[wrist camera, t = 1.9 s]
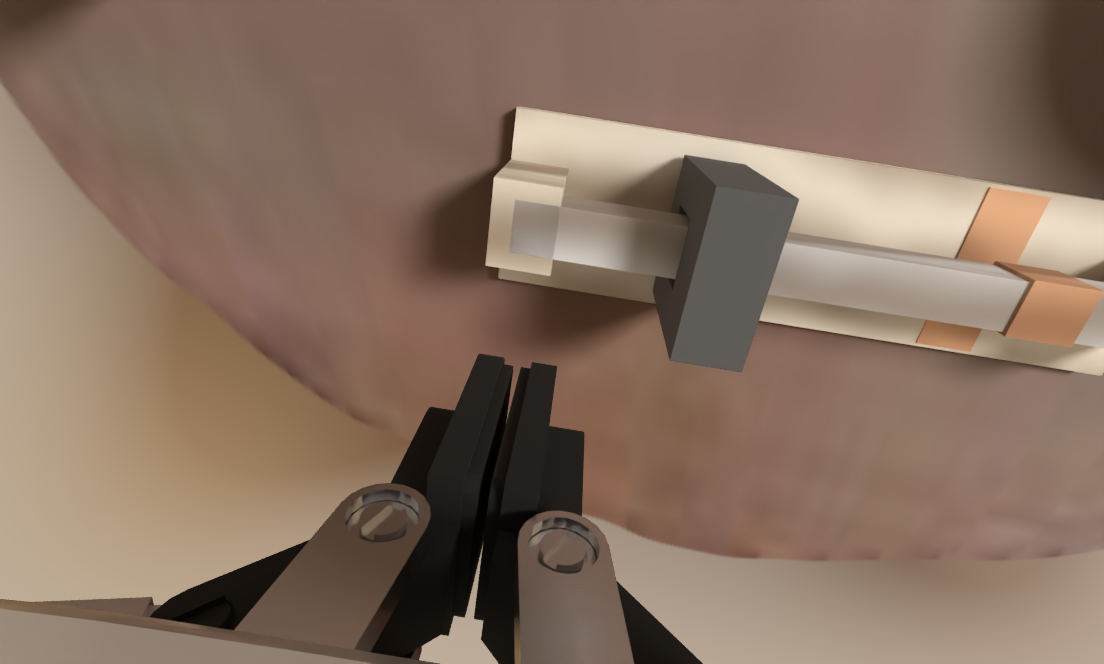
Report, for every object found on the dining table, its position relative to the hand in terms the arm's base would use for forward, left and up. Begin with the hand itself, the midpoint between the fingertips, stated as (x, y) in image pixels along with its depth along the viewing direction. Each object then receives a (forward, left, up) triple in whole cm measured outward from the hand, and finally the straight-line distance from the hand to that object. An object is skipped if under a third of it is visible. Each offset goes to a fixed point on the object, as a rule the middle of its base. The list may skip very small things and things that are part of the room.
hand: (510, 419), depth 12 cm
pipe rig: (0, +14, -20) cm, 25 cm away
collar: (0, +7, -19) cm, 20 cm away
